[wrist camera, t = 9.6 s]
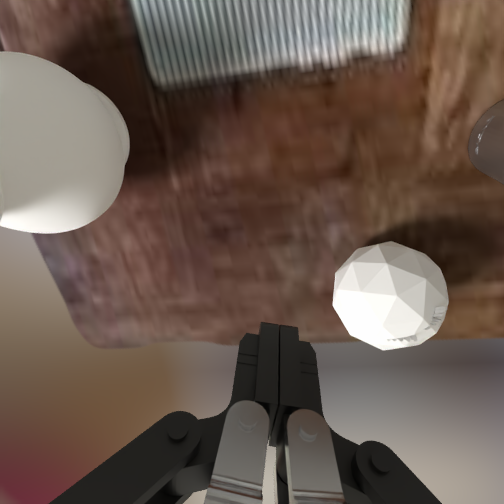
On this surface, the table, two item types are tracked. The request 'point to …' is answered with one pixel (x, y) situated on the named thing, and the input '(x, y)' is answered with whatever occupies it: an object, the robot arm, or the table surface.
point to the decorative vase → (56, 147)
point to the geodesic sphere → (390, 296)
